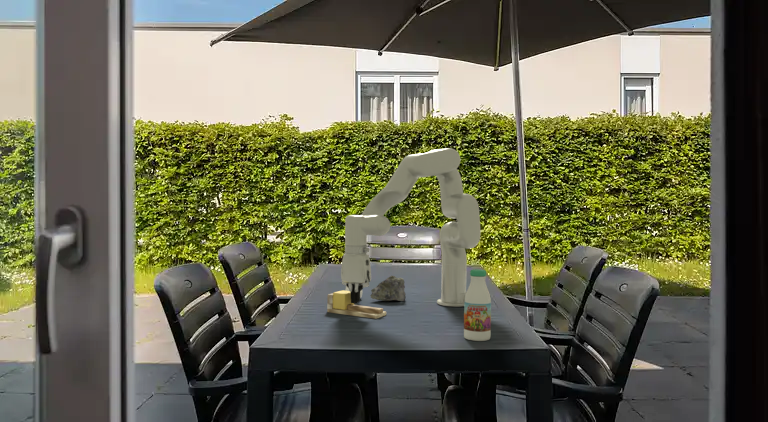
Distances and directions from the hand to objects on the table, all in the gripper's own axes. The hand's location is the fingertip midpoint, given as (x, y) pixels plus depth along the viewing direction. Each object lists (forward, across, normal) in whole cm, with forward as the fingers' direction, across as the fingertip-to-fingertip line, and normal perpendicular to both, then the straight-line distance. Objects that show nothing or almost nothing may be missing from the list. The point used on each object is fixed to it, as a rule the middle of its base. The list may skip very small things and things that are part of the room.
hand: (355, 302), depth 196 cm
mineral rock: (+4, +2, -28) cm, 28 cm away
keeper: (+2, +5, 0) cm, 6 cm away
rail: (+4, 0, 0) cm, 4 cm away
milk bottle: (+4, -48, +10) cm, 50 cm away
